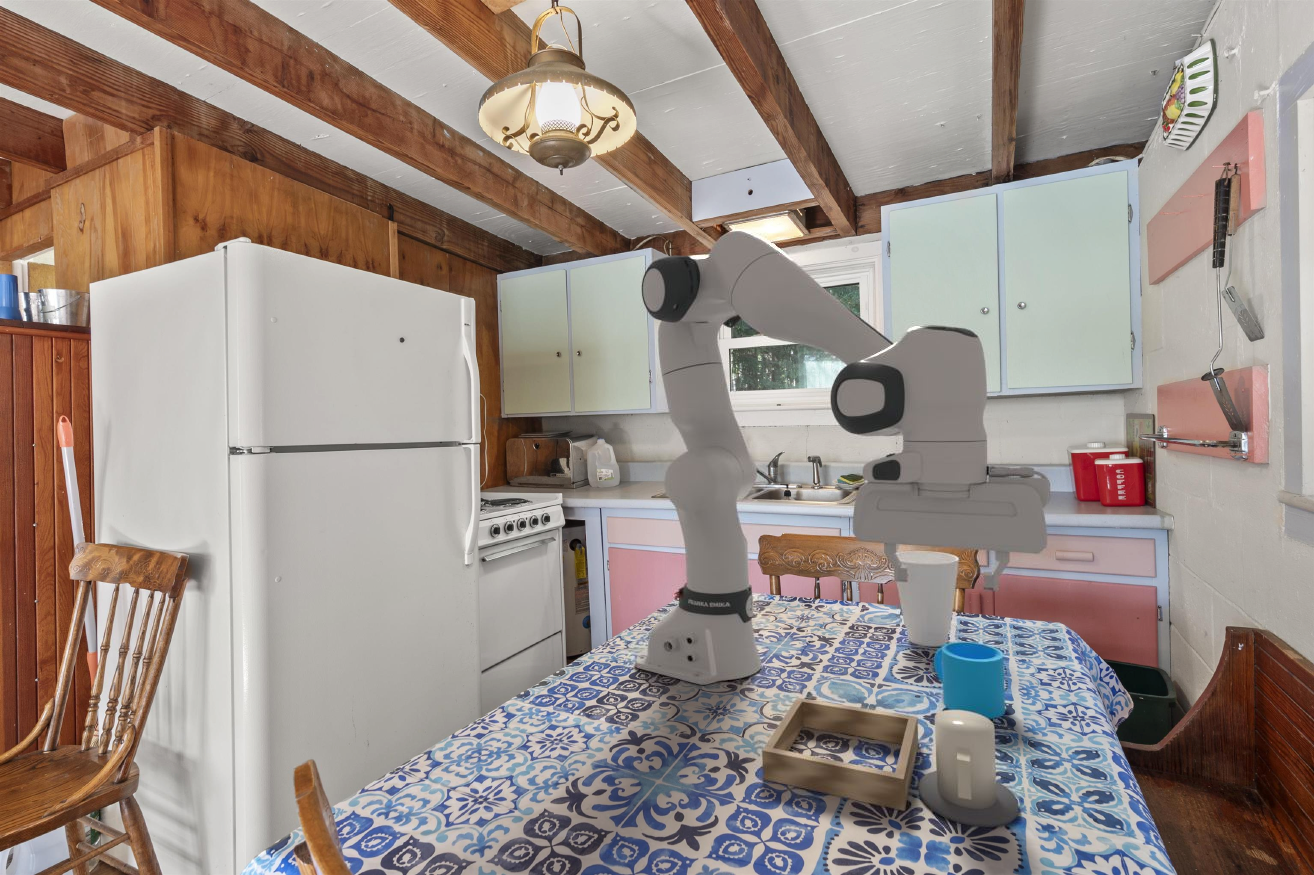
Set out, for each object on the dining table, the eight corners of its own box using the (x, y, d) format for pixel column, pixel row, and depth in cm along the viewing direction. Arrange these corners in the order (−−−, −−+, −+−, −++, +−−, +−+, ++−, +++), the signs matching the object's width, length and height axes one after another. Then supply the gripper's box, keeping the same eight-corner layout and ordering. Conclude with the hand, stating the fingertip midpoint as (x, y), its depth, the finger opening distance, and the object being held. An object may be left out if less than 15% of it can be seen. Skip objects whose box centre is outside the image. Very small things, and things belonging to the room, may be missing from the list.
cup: (893, 647, 119) (890, 562, 119) (895, 627, 130) (893, 549, 130) (963, 653, 114) (960, 565, 114) (960, 633, 125) (957, 551, 125)
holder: (763, 779, 77) (762, 750, 77) (797, 721, 91) (796, 697, 91) (904, 810, 70) (903, 779, 70) (918, 743, 84) (917, 716, 84)
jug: (938, 773, 75) (936, 706, 75) (995, 784, 73) (993, 714, 73) (934, 815, 68) (931, 740, 67) (998, 829, 65) (995, 751, 65)
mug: (1018, 713, 91) (1017, 656, 91) (971, 723, 89) (969, 664, 89) (957, 682, 103) (956, 631, 102) (914, 689, 100) (912, 638, 100)
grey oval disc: (914, 813, 69) (914, 807, 69) (922, 767, 78) (922, 762, 78) (1020, 836, 65) (1020, 831, 65) (1016, 785, 73) (1016, 780, 73)
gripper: (1047, 465, 71) (1048, 587, 72) (858, 462, 81) (860, 570, 81) (1052, 469, 66) (1052, 602, 66) (849, 466, 75) (850, 582, 76)
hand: (945, 585), depth 74 cm, fingers open, 8 cm apart
